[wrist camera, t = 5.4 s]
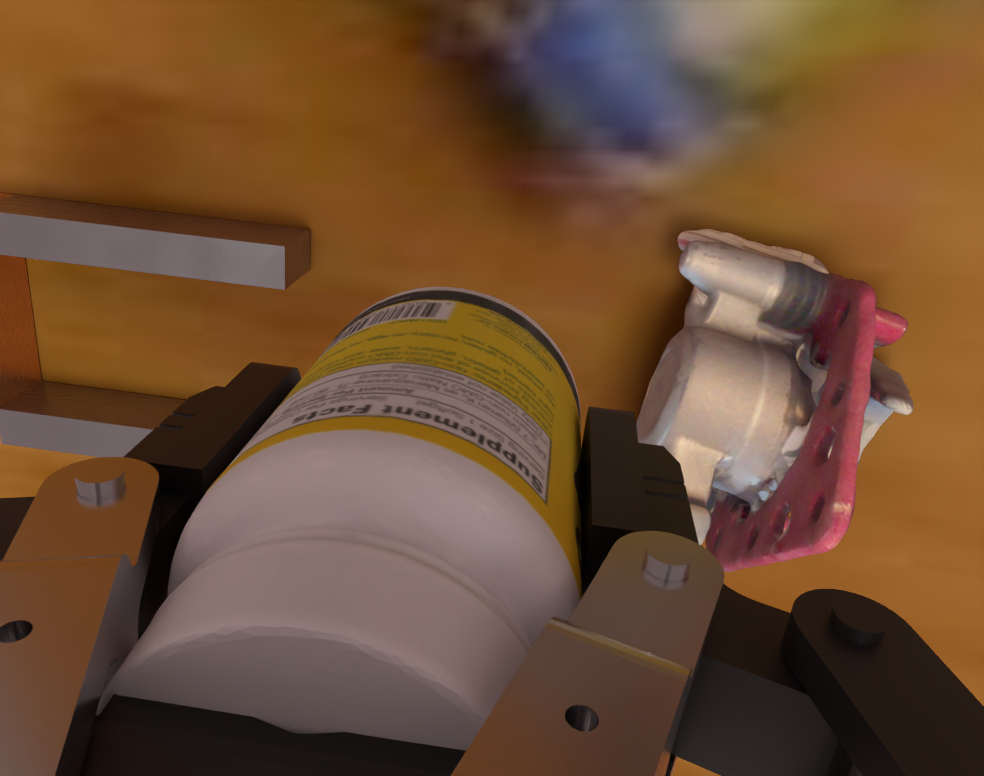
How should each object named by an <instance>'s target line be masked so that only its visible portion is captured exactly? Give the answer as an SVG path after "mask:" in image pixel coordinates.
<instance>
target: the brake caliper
mask: <svg viewBox="0 0 984 776" xmlns="http://www.w3.org/2000/svg"><path fill="white" fill-rule="evenodd" d="M677 241H678V245H679V248H680V249H681V250H682V251H683V252H682V253H681V256H680V259H679V270H680V273H681V274H682V275H683V276H684V277H685V278H686V279H687V280H689V281H690V282H691V283H692V284H693V285H694V287H693V290H692V292H691V295H690V297H689V300H688V303H687V305H686V309H685V324H684V327H683V329H682V330H681V331H680V332H679V333H677V334H676V335H675V336H674V337H673V338H672V339H671V340H670V342H669V343H668V344H667V346H666V348H665V350H664V352H663V354H662V356H661V358H660V361H659V364H658V366H657V368H656V370H655V372H654V374H653V376H652V378H651V381H650V383H649V386H648V389H647V392H646V395H645V398H644V401H643V404H642V407H641V411H640V415H639V416H638V419H637V424H636V429H637V436H638V443H645V444H652V445H660V446H664V447H665V448H666V449H667V450H668V451H669V452H670V453H671V454H672V455H673V456H674V458H675V459H676V460H677V461H678V462H679V463H680V465H681V469H682V473H683V478H684V485H685V486H686V491H687V495H688V500H689V503H690V508H691V512H692V516H693V521H694V525H695V529H696V534H697V538H698V542H699V545H701V544H702V543H703V541H704V539H705V537H706V548H707V550H708V551H709V552H711V553H712V554H713V555H714V556H715V557H716V558H717V560H718V561H719V562H720V564H721V566H722V568H723V571H727V572H732V571H735V570H739V569H743V568H747V567H754V566H763V565H768V564H771V563H775V562H785V561H787V560H790V559H793V558H798V557H803V556H807V555H812V554H818V553H823V552H826V551H829V550H831V549H832V548H834V547H835V546H836V545H837V544H838V543H839V542H840V540H841V539H842V538H843V536H844V535H845V533H846V531H847V529H848V527H849V525H850V521H851V518H852V515H853V510H854V506H855V496H856V470H857V466H858V464H859V461H860V456H861V453H862V451H863V450H864V448H865V446H866V445H867V444H868V442H869V441H870V440H871V439H872V438H873V436H874V435H875V433H876V431H877V430H878V428H879V427H880V426H881V425H882V423H883V422H884V421H885V420H886V419H887V418H888V417H889V416H890V414H891V413H892V412H893V411H896V412H898V413H901V414H904V415H908V414H910V413H911V412H912V411H913V401H912V399H911V398H910V396H909V390H908V388H907V386H906V384H905V383H904V381H903V378H902V376H901V374H900V373H898V372H896V371H894V370H892V369H890V368H889V367H887V366H886V365H884V364H883V363H882V362H880V361H879V360H877V359H876V358H874V357H873V348H876V347H883V346H886V345H889V344H891V343H894V342H896V341H897V340H898V339H900V338H901V337H902V336H903V334H904V333H905V331H906V329H907V326H908V322H907V320H906V319H905V318H903V317H902V316H900V315H899V314H896V313H893V312H890V311H887V310H884V309H881V308H878V307H876V304H877V299H876V294H875V291H874V290H873V288H872V287H871V286H870V285H869V284H868V283H866V282H863V281H857V280H854V279H844V278H843V277H842V276H840V275H837V274H829V272H828V271H827V269H826V267H825V266H824V265H823V264H822V263H821V261H819V260H818V259H817V258H815V257H814V256H811V255H809V254H806V253H803V252H800V251H797V250H794V249H787V248H782V247H777V246H765V245H763V244H761V243H757V242H754V241H748V240H746V239H744V238H742V237H740V236H737V235H734V234H731V233H728V232H721V231H716V230H712V229H702V230H697V231H688V230H686V231H683V232H681V233H680V234H679V236H678V240H677ZM790 510H791V516H790V519H789V517H788V514H789V512H790Z"/></svg>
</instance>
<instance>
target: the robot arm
mask: <svg viewBox="0 0 984 776" xmlns="http://www.w3.org/2000/svg"><path fill="white" fill-rule="evenodd" d="M300 380H301V377H300V373H299V371H298V369H297V368H293V367H286V366H278V365H270V364H263V363H255V362H252V363H250V364H248V365H247V366H246V367H245V368H244V369H243V370H242V371H241V372H240V373H239V374H238V375H237V376H236V377H235V378H234V379H233V380H232V381H231V382H230V383H229V384H228V385H227V386H226V387H219V386H215V387H213V388H210V389H208V390H205V391H203V392H201V393H198V394H196V395H194V396H191V397H189V398H188V399H187V400H186V401H185V402H184V403H182V404H181V405H180V406H179V407H178V408H177V409H176V410H175V411H174V412H173V415H169V416H168V417H167V418H166V419H165V420H164V421H163V422H161V423H160V426H159V427H156V428H155V429H154V430H153V431H151V432H150V433H149V434H148V435H147V436H146V437H145V438H144V439H143V440H141V441H140V442H139V443H138V444H137V445H136V446H135V447H134V448H133V449H132V450H130V451H129V452H128V453H127V454H126V455H125V456H124V457H101V458H94V459H89V460H84V461H80V462H77V463H73V464H71V465H68V466H66V467H63V468H61V469H59V470H57V471H56V472H54V473H53V474H51V475H50V476H49V477H48V478H46V479H45V480H44V482H43V483H42V485H41V486H40V488H39V490H38V492H37V494H36V496H35V497H19V498H0V776H672V772H673V769H674V766H675V763H676V760H677V757H680V758H682V759H684V760H686V761H689V762H691V763H693V764H696V765H698V766H700V767H703V768H705V769H707V770H710V771H712V772H714V773H717V774H719V775H721V776H984V706H983V705H982V704H981V703H980V702H979V701H978V700H977V699H976V698H975V697H974V695H973V694H972V693H971V692H970V691H969V690H968V689H967V688H966V687H965V686H964V684H963V683H962V682H961V681H960V680H959V679H958V678H957V677H956V676H955V675H954V673H953V672H952V671H951V670H950V669H949V668H948V667H947V666H946V665H945V664H944V663H943V661H942V660H941V659H940V658H939V657H938V656H937V655H936V654H935V653H934V652H933V650H932V649H931V648H930V647H929V646H928V645H927V644H926V643H925V642H924V641H923V639H922V638H921V637H920V636H919V635H918V634H917V633H916V632H915V631H914V630H913V629H912V627H911V626H910V625H909V624H908V623H907V622H906V621H905V620H903V619H902V618H901V617H900V616H898V615H897V614H896V613H895V612H893V611H892V610H890V609H888V608H887V607H885V606H883V605H881V604H880V603H878V602H876V601H874V600H871V599H869V598H867V597H864V596H861V595H858V594H855V593H851V592H847V591H843V590H836V589H816V590H811V591H808V592H805V593H803V594H801V595H800V596H799V597H798V598H797V599H796V600H795V602H794V604H793V607H792V610H791V613H788V612H786V611H783V610H780V609H777V608H774V607H771V606H768V605H765V604H763V603H760V602H757V601H754V600H752V599H749V598H747V597H745V596H743V595H741V594H739V593H737V592H735V591H734V590H732V589H730V588H729V587H727V586H726V585H724V584H723V581H724V571H723V568H722V566H721V564H720V562H719V561H718V560H717V558H716V557H715V556H714V555H713V554H712V553H711V552H709V551H708V550H707V549H706V548H704V547H703V546H701V545H699V542H698V538H697V534H696V529H695V525H694V521H693V516H692V512H691V508H690V503H689V500H688V495H687V491H686V486H685V485H684V478H683V473H682V469H681V465H680V463H679V462H678V461H677V460H676V459H675V458H674V456H673V455H672V454H671V453H670V452H669V451H668V450H667V449H666V448H665V447H664V446H660V445H652V444H645V443H638V436H637V429H636V422H635V415H634V412H626V411H619V410H611V409H603V408H596V407H589V409H588V412H587V417H586V423H585V429H584V435H583V442H582V448H581V502H582V523H581V534H582V548H583V559H582V599H581V600H580V602H579V604H578V606H577V607H576V609H575V611H574V612H573V614H572V616H571V617H570V619H569V621H566V620H563V619H561V618H558V617H553V618H551V619H550V620H549V622H548V623H547V624H546V626H545V627H544V629H543V630H542V632H541V633H540V635H539V637H538V638H537V640H536V641H535V643H534V644H533V646H532V648H531V649H530V651H529V652H528V654H527V656H526V657H525V659H524V660H523V662H522V664H521V665H520V667H519V668H518V670H517V671H516V673H515V675H514V676H513V678H512V679H511V681H510V683H509V684H508V686H507V687H506V689H505V690H504V692H503V694H502V695H501V697H500V698H499V700H498V702H497V703H496V705H495V706H494V708H493V709H492V711H491V713H490V714H489V716H488V717H487V719H486V721H485V722H484V724H483V725H482V727H481V729H480V730H479V732H478V733H477V735H476V736H475V738H474V740H473V741H472V743H471V744H470V746H469V748H468V749H467V751H466V750H459V749H452V748H446V747H439V746H433V745H426V744H419V743H413V742H406V741H400V740H394V739H387V738H381V737H374V736H368V735H362V734H356V733H349V732H332V733H314V734H298V733H292V732H289V731H286V730H284V729H281V728H279V727H277V726H274V725H272V724H269V723H267V722H264V721H262V720H259V719H257V718H255V717H252V716H246V715H240V714H233V713H227V712H221V711H215V710H209V709H202V708H196V707H190V706H184V705H177V704H171V703H165V702H159V701H152V700H146V699H140V698H134V697H127V696H121V695H116V694H114V695H113V696H112V698H111V699H110V701H109V702H108V703H107V705H106V706H105V707H104V709H103V710H102V712H101V713H100V714H99V715H96V712H97V708H98V704H99V701H100V699H101V696H102V694H103V692H104V690H105V689H106V687H107V685H108V684H109V682H110V681H111V679H112V677H113V676H114V675H115V673H116V672H117V671H118V669H119V668H120V666H121V665H122V664H123V662H124V661H125V659H126V658H127V656H128V655H129V653H130V652H131V651H132V649H133V648H134V646H135V645H136V643H137V642H138V640H139V639H140V638H141V636H142V635H143V633H144V632H145V630H146V629H147V628H148V626H149V625H150V623H151V621H152V619H153V617H154V616H155V614H156V612H157V611H158V609H159V608H160V607H161V605H162V604H163V602H164V601H165V600H166V598H167V594H168V583H169V576H170V570H171V564H172V560H173V557H174V553H175V550H176V547H177V544H178V542H179V539H180V536H181V534H182V532H183V530H184V527H185V525H186V524H187V522H188V520H189V519H190V517H191V515H192V514H193V512H194V510H195V509H196V507H197V506H198V504H199V502H200V501H201V499H202V498H203V496H204V495H205V493H206V492H207V490H208V489H209V488H210V487H211V485H212V484H213V483H214V482H215V481H216V479H217V478H218V477H219V476H220V475H221V474H222V473H223V472H224V471H225V470H226V468H227V467H228V466H229V465H230V464H231V462H232V461H233V460H234V459H235V458H236V456H237V455H238V454H239V453H240V452H241V450H242V449H243V448H244V447H245V446H246V445H247V443H248V442H249V441H250V440H251V439H252V437H253V436H254V435H255V434H256V433H257V432H258V430H259V429H260V428H261V427H262V426H263V424H264V423H265V422H266V421H267V420H268V418H269V417H270V416H271V415H272V414H273V412H274V411H275V410H276V409H277V407H278V406H279V405H280V404H281V403H282V402H283V400H284V399H285V398H286V397H287V396H288V394H289V393H290V392H291V391H292V389H293V388H294V387H295V386H296V385H297V384H298V382H299V381H300Z"/></svg>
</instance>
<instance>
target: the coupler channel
mask: <svg viewBox="0 0 984 776" xmlns="http://www.w3.org/2000/svg"><path fill="white" fill-rule="evenodd" d="M25 258H32V259H40V260H48V261H56V262H64V263H72V264H80V265H89V266H97V267H105V268H113V269H121V270H129V271H137V272H145V273H154V274H162V275H170V276H178V277H186V278H194V279H202V280H210V281H218V282H227V283H235V284H243V285H251V286H259V287H267V288H275V289H283V290H285V289H286V288H288V287H289V286H290V285H291V284H293V283H294V282H295V281H296V280H298V279H299V278H300V277H301V276H302V275H304V274H305V273H306V272H307V271H309V270H310V229H302V228H293V227H285V226H276V225H268V224H260V223H251V222H243V221H234V220H226V219H218V218H209V217H201V216H192V215H184V214H176V213H167V212H159V211H150V210H142V209H133V208H125V207H117V206H108V205H100V204H91V203H83V202H75V201H66V200H58V199H49V198H41V197H33V196H24V195H16V194H7V193H0V444H7V445H15V446H22V447H29V448H37V449H44V450H51V451H59V452H66V453H73V454H81V455H88V456H95V457H124V456H125V455H126V454H127V453H128V452H129V451H130V450H132V449H133V448H134V447H135V446H136V445H137V444H138V443H139V442H140V441H141V440H143V439H144V438H145V437H146V436H147V435H148V434H149V433H150V432H151V431H153V430H154V429H155V428H156V427H159V426H160V423H161V422H163V421H164V420H165V419H166V418H167V417H168V416H169V415H173V412H174V411H175V410H176V409H177V408H178V407H179V406H180V405H181V404H182V403H184V402H185V401H186V400H184V399H176V398H168V397H161V396H153V395H146V394H138V393H130V392H123V391H115V390H108V389H100V388H92V387H85V386H77V385H70V384H62V383H54V382H47V381H42V379H41V371H40V364H39V357H38V349H37V342H36V335H35V327H34V320H33V312H32V305H31V298H30V290H29V283H28V276H27V268H26V261H25Z"/></svg>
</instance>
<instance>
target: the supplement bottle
mask: <svg viewBox="0 0 984 776" xmlns="http://www.w3.org/2000/svg"><path fill="white" fill-rule="evenodd" d="M581 523H582V502H581V427H580V402H579V397H578V392H577V387H576V384H575V380H574V378H573V375H572V372H571V370H570V368H569V366H568V364H567V362H566V360H565V358H564V356H563V355H562V353H561V351H560V350H559V348H558V347H557V345H556V344H555V343H554V341H553V340H552V339H551V337H550V336H549V335H548V334H547V333H546V332H545V331H544V330H543V329H542V328H541V327H540V326H539V325H538V324H537V323H536V322H535V321H534V320H533V319H531V318H530V317H529V316H527V315H526V314H525V313H523V312H522V311H520V310H519V309H517V308H515V307H514V306H512V305H510V304H508V303H506V302H504V301H502V300H500V299H497V298H495V297H493V296H490V295H486V294H483V293H480V292H476V291H472V290H468V289H462V288H454V287H426V288H418V289H412V290H409V291H405V292H401V293H398V294H396V295H393V296H390V297H388V298H386V299H383V300H381V301H379V302H377V303H376V304H374V305H372V306H370V307H369V308H367V309H366V310H364V311H363V312H362V313H360V314H359V315H358V316H357V317H355V318H354V319H353V320H352V321H351V322H350V323H349V324H348V325H347V326H346V327H345V328H344V329H343V330H342V331H341V332H340V333H339V334H338V336H337V337H336V338H335V339H334V340H333V342H332V343H331V344H330V346H329V347H328V348H327V349H326V350H325V351H324V353H323V354H322V355H321V356H320V357H319V359H318V360H317V361H316V362H315V363H314V365H313V366H312V367H311V368H310V369H309V370H308V372H307V373H306V374H305V375H304V376H303V378H302V379H301V380H300V381H299V382H298V384H297V385H296V386H295V387H294V388H293V389H292V391H291V392H290V393H289V394H288V396H287V397H286V398H285V399H284V400H283V402H282V403H281V404H280V405H279V406H278V407H277V409H276V410H275V411H274V412H273V414H272V415H271V416H270V417H269V418H268V420H267V421H266V422H265V423H264V424H263V426H262V427H261V428H260V429H259V430H258V432H257V433H256V434H255V435H254V436H253V437H252V439H251V440H250V441H249V442H248V443H247V445H246V446H245V447H244V448H243V449H242V450H241V452H240V453H239V454H238V455H237V456H236V458H235V459H234V460H233V461H232V462H231V464H230V465H229V466H228V467H227V468H226V470H225V471H224V472H223V473H222V474H221V475H220V476H219V477H218V478H217V479H216V481H215V482H214V483H213V484H212V485H211V487H210V488H209V489H208V490H207V492H206V493H205V495H204V496H203V498H202V499H201V501H200V502H199V504H198V506H197V507H196V509H195V510H194V512H193V514H192V515H191V517H190V519H189V520H188V522H187V524H186V525H185V527H184V530H183V532H182V534H181V536H180V539H179V542H178V544H177V547H176V550H175V553H174V557H173V560H172V564H171V570H170V576H169V583H168V594H167V598H166V600H165V601H164V602H163V604H162V605H161V607H160V608H159V609H158V611H157V612H156V614H155V616H154V617H153V619H152V621H151V623H150V625H149V626H148V628H147V629H146V630H145V632H144V633H143V635H142V636H141V638H140V639H139V640H138V642H137V643H136V645H135V646H134V648H133V649H132V651H131V652H130V653H129V655H128V656H127V658H126V659H125V661H124V662H123V664H122V665H121V666H120V668H119V669H118V671H117V672H116V673H115V675H114V676H113V677H112V679H111V681H110V682H109V684H108V685H107V687H106V689H105V690H104V692H103V694H102V696H101V699H100V701H99V704H98V708H97V712H96V715H99V714H100V713H101V712H102V710H103V709H104V707H105V706H106V705H107V703H108V702H109V701H110V699H111V698H112V696H113V695H114V694H116V695H121V696H127V697H134V698H140V699H146V700H152V701H159V702H165V703H171V704H177V705H184V706H190V707H196V708H202V709H209V710H215V711H221V712H227V713H233V714H240V715H246V716H252V717H255V718H257V719H259V720H262V721H264V722H267V723H269V724H272V725H274V726H277V727H279V728H281V729H284V730H286V731H289V732H292V733H298V734H314V733H332V732H349V733H356V734H362V735H368V736H374V737H381V738H387V739H394V740H400V741H406V742H413V743H419V744H426V745H433V746H439V747H446V748H452V749H459V750H466V751H467V749H468V748H469V746H470V744H471V743H472V741H473V740H474V738H475V736H476V735H477V733H478V732H479V730H480V729H481V727H482V725H483V724H484V722H485V721H486V719H487V717H488V716H489V714H490V713H491V711H492V709H493V708H494V706H495V705H496V703H497V702H498V700H499V698H500V697H501V695H502V694H503V692H504V690H505V689H506V687H507V686H508V684H509V683H510V681H511V679H512V678H513V676H514V675H515V673H516V671H517V670H518V668H519V667H520V665H521V664H522V662H523V660H524V659H525V657H526V656H527V654H528V652H529V651H530V649H531V648H532V646H533V644H534V643H535V641H536V640H537V638H538V637H539V635H540V633H541V632H542V630H543V629H544V627H545V626H546V624H547V623H548V622H549V620H550V619H551V618H553V617H558V618H561V619H563V620H566V621H569V619H570V617H571V616H572V614H573V612H574V611H575V609H576V607H577V606H578V604H579V602H580V600H581V599H582V559H583V548H582V534H581Z"/></svg>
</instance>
